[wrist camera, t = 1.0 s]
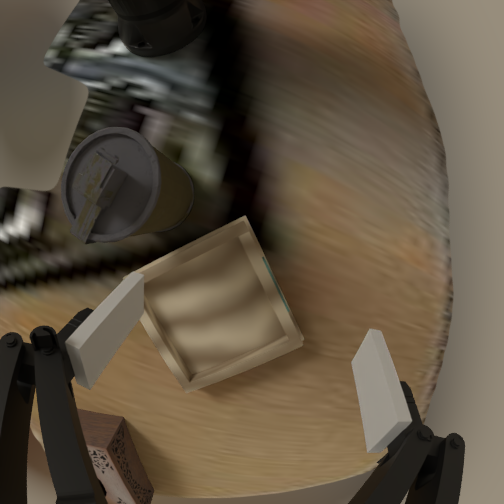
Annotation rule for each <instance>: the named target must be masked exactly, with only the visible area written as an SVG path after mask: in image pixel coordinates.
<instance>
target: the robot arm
mask: <svg viewBox="0 0 504 504" xmlns="http://www.w3.org/2000/svg"><path fill="white" fill-rule="evenodd" d="M108 1H109V3H110V4H111V6H112V7H113V9H114V10H115V12H116V13H117V15H118V28H119V36H120V39H121V41H122V42H123V44H124V45H125V47H126V48H127V49H128V50H129V51H130V52H132V53H134V54H136V55H140V56H148V57H151V56H160V55H165V54H168V53H171V52H174V51H176V50H179V49H181V48H183V47H184V46H186V45H188V44H189V43H190V42H192V41H193V40H194V39H195V38H196V37H197V36H198V35H199V34H200V33H201V31H202V30H203V28H204V26H205V24H206V20H207V14H206V9H205V5H204V3H203V1H202V0H108ZM143 314H144V275H143V274H140V273H136V272H132V273H131V274H130V275H129V276H128V277H126V278H125V279H124V280H123V281H122V282H121V283H120V284H119V285H118V286H117V287H116V288H115V289H114V290H113V292H112V293H111V294H110V295H109V296H108V297H107V298H106V299H105V300H104V301H103V302H102V303H101V304H100V305H99V306H98V307H97V308H96V309H95V310H92V309H89V308H86V309H84V310H82V311H80V312H78V313H77V314H76V315H75V316H74V317H73V319H71V320H70V321H69V323H68V324H66V326H65V327H64V328H63V329H62V330H61V331H60V332H59V333H58V334H56V332H55V330H54V329H53V328H52V327H49V326H39V327H37V328H35V329H33V331H32V332H31V333H30V340H31V343H32V344H29V343H25V342H23V340H22V337H21V335H19V334H18V333H15V332H10V333H7V334H5V335H4V336H2V338H1V339H0V504H27V453H28V438H29V428H30V420H31V412H32V406H33V399H34V393H35V388H36V394H37V403H38V412H39V419H40V426H41V432H42V437H43V443H44V448H45V453H46V456H47V461H48V466H49V470H50V473H51V477H52V481H53V484H54V488H55V490H56V494H57V500H56V504H108V502H107V500H106V498H105V495H104V493H103V490H102V488H101V485H100V483H99V480H98V478H97V475H96V472H95V469H94V467H93V464H92V461H91V458H90V455H89V452H88V448H87V445H86V442H85V438H84V435H83V431H82V427H81V424H80V420H79V416H78V411H77V407H76V403H75V398H74V393H73V388H72V384H71V380H72V379H73V377H74V376H75V378H76V382H77V384H79V385H81V386H83V387H85V388H87V389H89V390H90V389H91V388H92V386H93V385H94V383H95V382H96V380H97V379H98V377H99V376H100V374H101V373H102V372H103V370H104V369H105V367H106V366H107V364H108V363H109V361H110V360H111V358H112V357H113V356H114V354H115V353H116V351H117V350H118V348H119V347H120V346H121V344H122V343H123V341H124V340H125V339H126V337H127V336H128V334H129V333H130V332H131V330H132V329H133V327H134V326H135V325H136V323H137V322H138V321H139V319H140V318H141V316H142V315H143ZM351 363H352V368H353V373H354V378H355V383H356V388H357V393H358V399H359V404H360V410H361V416H362V421H363V427H364V434H365V440H366V447H367V453H379V452H382V451H383V450H384V449H385V448H386V447H388V453H387V454H386V455H385V456H384V457H383V458H381V459H380V460H379V461H378V462H377V463H378V464H379V465H378V466H377V468H376V469H375V470H374V472H373V473H372V474H371V476H370V477H369V478H368V480H367V481H366V482H365V483H364V485H363V486H362V487H361V488H360V490H359V491H358V492H357V493H356V495H355V496H354V497H353V498H352V499H351V501H350V502H349V503H348V504H400V503H401V502H402V500H403V498H404V497H405V495H406V494H407V492H408V490H409V492H408V495H407V498H406V502H405V504H458V501H459V495H460V488H461V481H462V474H463V465H464V453H465V442H464V440H463V438H462V437H461V436H460V435H458V434H457V433H451V434H449V435H448V436H447V437H446V438H442V437H438V436H434V434H433V432H432V430H431V429H430V428H429V427H428V426H425V425H423V424H422V421H421V418H420V415H419V412H418V409H417V406H416V404H415V400H414V398H413V394H412V391H411V389H410V387H409V386H408V385H407V383H406V382H404V381H399V378H398V376H397V373H396V370H395V367H394V364H393V361H392V359H391V356H390V353H389V351H388V348H387V345H386V343H385V340H384V337H383V335H382V332H381V331H380V330H375V329H369V331H368V333H367V335H366V337H365V339H364V340H363V342H362V344H361V346H360V348H359V350H358V351H357V353H356V355H355V357H354V359H353V360H352V362H351ZM409 488H410V489H409Z"/></svg>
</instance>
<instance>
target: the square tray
mask: <svg viewBox="0 0 504 504" xmlns="http://www.w3.org/2000/svg"><path fill="white" fill-rule="evenodd" d="M135 272H136V273H140V274H143V275H144V314H143V315H142V316H141V318H140V321H141V323H142V325H143V326H144V328H145V330H146V331H147V333H148V335H149V336H150V338H151V340H152V341H153V343H154V345H155V346H156V348H157V350H158V351H159V353H160V354H161V356H162V358H163V359H164V361H165V362H166V364H167V365H168V367H169V368H170V370H171V371H172V373H173V374H174V376H175V377H176V379H177V380H178V382H179V383H180V385H181V386H182V388H183V389H184V391H185V392H186V393H188V392H191V391H194V390H197V389H200V388H203V387H205V386H208V385H211V384H214V383H216V382H219V381H222V380H224V379H227V378H229V377H232V376H235V375H237V374H240V373H242V372H245V371H247V370H249V369H252V368H254V367H257V366H259V365H261V364H264V363H266V362H268V361H271V360H273V359H275V358H277V357H280V356H282V355H284V354H286V353H288V352H291V351H293V350H295V349H297V348H299V347H301V346H303V343H302V341H303V340H305V339H304V337H303V335H302V333H301V331H300V329H299V326H298V324H297V322H296V320H295V318H294V316H293V314H292V312H291V309H290V307H289V305H288V303H287V301H286V299H285V297H284V295H283V293H282V290H281V288H280V286H279V284H278V282H277V280H276V278H275V276H274V274H273V272H272V269H271V267H270V265H269V263H268V261H267V259H266V257H265V255H264V253H263V251H262V249H261V246H260V244H259V242H258V240H257V238H256V236H255V234H254V232H253V230H252V228H251V226H250V224H249V222H248V219H247V217H246V215H245V216H243V217H241V218H239V219H237V220H235V221H233V222H231V223H229V224H227V225H225V226H223V227H221V228H219V229H217V230H215V231H213V232H211V233H209V234H207V235H205V236H203V237H201V238H199V239H197V240H195V241H193V242H191V243H189V244H187V245H185V246H183V247H181V248H179V249H177V250H175V251H173V252H171V253H169V254H167V255H165V256H163V257H161V258H159V259H157V260H156V261H154V262H152V263H150V264H148V265H146V266H144V267H142V268H140V269H138V270H137V271H135ZM129 275H130V274H129ZM129 275H127V276H125V277H123V280H124V279H125V278H126V277H128V276H129Z"/></svg>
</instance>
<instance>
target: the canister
mask: <svg viewBox="0 0 504 504" xmlns="http://www.w3.org/2000/svg"><path fill="white" fill-rule="evenodd" d="M61 199H62V203H63V207H64V211H65V214H66V216H67V218H68V220H69V222H70V223H71V224H72V225H73V226H72V228H71V230H70V232H71V233H72V234H73V235H74V236H76V237H77V238H78V239H79V240H81V241H82V242H83V243H85V244H90V243H95V242H103V243H107V242H116V241H119V240H122V239H124V238H127V237H130V236H135V235H140V234H146V233H151V232H164V231H168V230H171V229H173V228H175V227H176V226H178V225H179V224H181V223H182V222H183V221H184V220H185V219H186V217H187V216H188V214H189V212H190V210H191V208H192V206H193V201H194V187H193V183H192V180H191V178H190V176H189V175H188V173H187V172H186V170H185V169H184V168H182V167H181V166H180V165H178V164H177V163H175V162H172V161H171V160H170V159H169V158H167V157H166V156H165V155H163V154H162V153H161V152H159V151H158V150H157V149H155V148H154V147H153V146H152V145H151V144H150V143H149V142H148V140H147V139H146V138H145V137H143V136H142V135H141V134H139V133H138V132H136V131H133V130H131V129H128V128H123V127H109V128H105V129H102V130H99V131H97V132H95V133H93V134H91V135H89V136H88V137H87V138H86V139H85V140H84V141H82V142H81V143H80V144H79V145H78V147H77V148H76V149H75V150H74V151H73V153H72V154H71V156H70V158H69V160H68V162H67V164H66V167H65V169H64V173H63V177H62V184H61Z"/></svg>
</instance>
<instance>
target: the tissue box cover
mask: <svg viewBox="0 0 504 504" xmlns="http://www.w3.org/2000/svg"><path fill="white" fill-rule="evenodd" d="M77 411H78V416H79V420H80V424H81V427H82V431H83V435H84V438H85V442H86V445H87V448H88V452H89V455H90V458H91V461H92V464H93V467H94V469H95V472H96V475H97V478H98V480H99V483H100V485H101V488H102V490H103V493H104V495H105V498H106V500H107V502H108V504H151V500H152V497H153V493H154V489H153V487H152V485H151V483H150V481H149V479H148V477H147V475H146V472H145V470H144V468H143V466H142V463H141V461H140V459H139V456H138V454H137V452H136V449H135V447H134V444H133V442H132V439H131V436H130V434H129V431H128V428H127V426H126V423H125V420H124V417H120V416H114V415H107V414H102V413H96V412H91V411H86V410H81V409H77Z"/></svg>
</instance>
